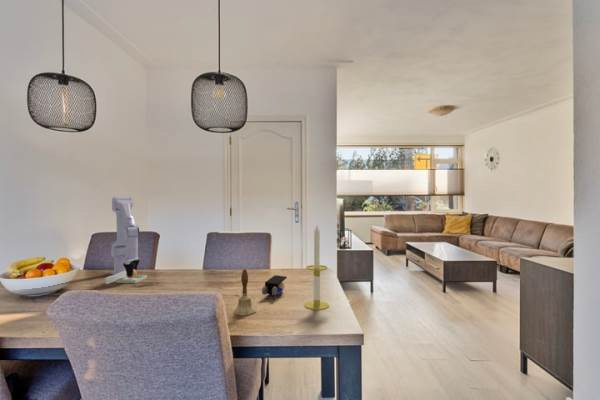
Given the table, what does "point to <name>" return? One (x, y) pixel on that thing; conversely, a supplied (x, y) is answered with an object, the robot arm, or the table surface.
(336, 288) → the table surface
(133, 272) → the ball
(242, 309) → the hand bell
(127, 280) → the tray
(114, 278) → the wall
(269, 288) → the figurine character
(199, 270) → the table surface
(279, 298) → the table surface
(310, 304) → the candle
